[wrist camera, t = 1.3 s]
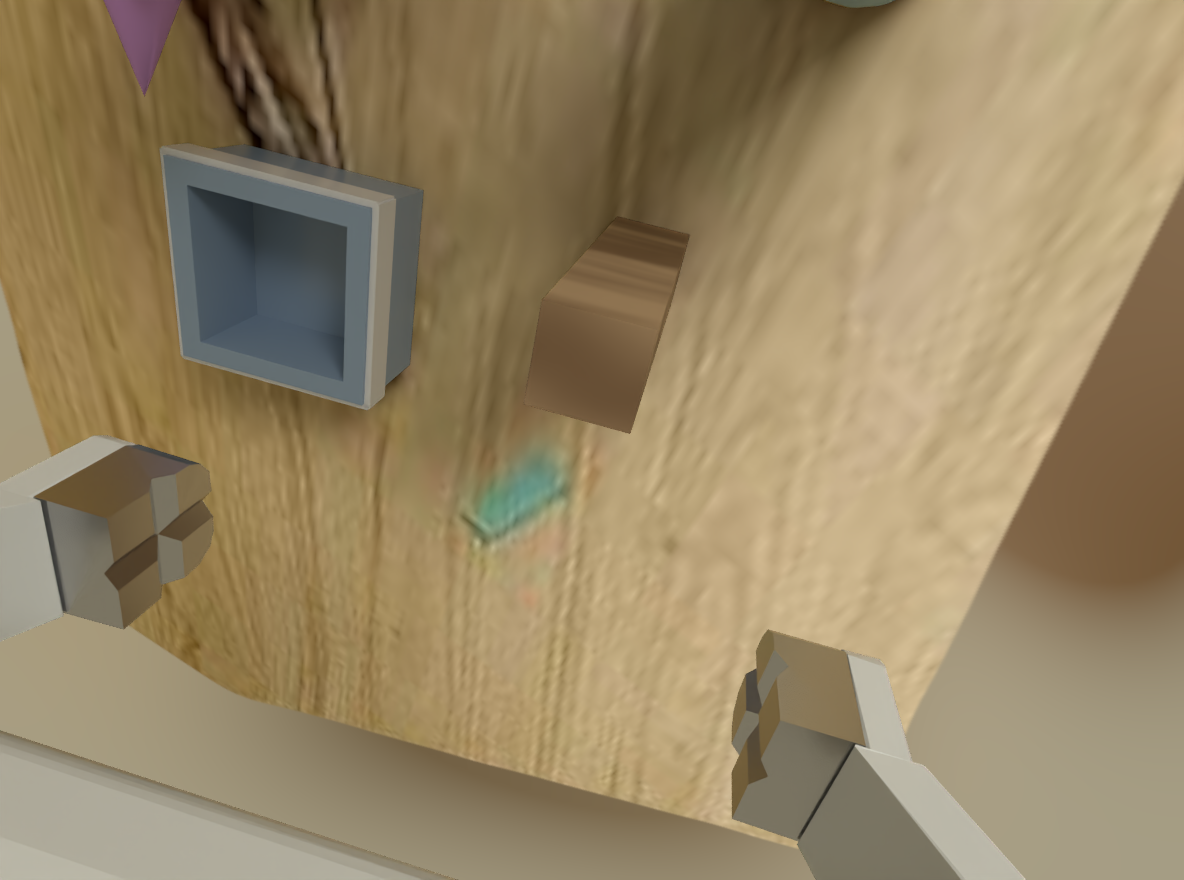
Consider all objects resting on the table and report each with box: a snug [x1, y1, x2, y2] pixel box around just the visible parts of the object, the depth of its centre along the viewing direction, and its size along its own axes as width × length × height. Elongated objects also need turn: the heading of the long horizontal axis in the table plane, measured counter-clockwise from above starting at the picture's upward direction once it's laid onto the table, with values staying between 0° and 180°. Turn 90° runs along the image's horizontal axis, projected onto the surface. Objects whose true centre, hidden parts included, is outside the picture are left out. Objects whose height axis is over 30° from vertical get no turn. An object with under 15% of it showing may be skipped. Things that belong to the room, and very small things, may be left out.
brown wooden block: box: [524, 217, 690, 434], centre depth 27 cm, size 4×4×14 cm
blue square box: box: [160, 143, 423, 410], centre depth 34 cm, size 10×10×6 cm
